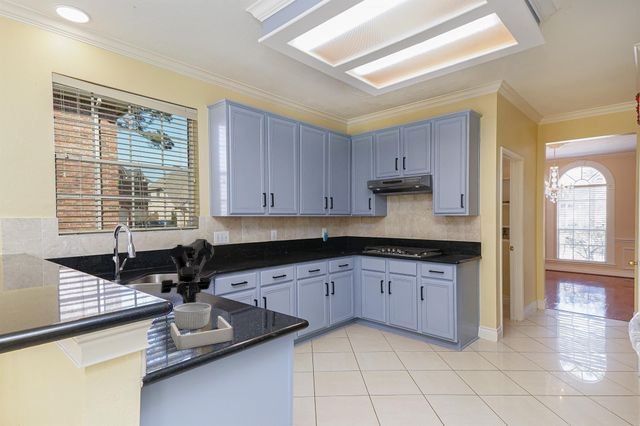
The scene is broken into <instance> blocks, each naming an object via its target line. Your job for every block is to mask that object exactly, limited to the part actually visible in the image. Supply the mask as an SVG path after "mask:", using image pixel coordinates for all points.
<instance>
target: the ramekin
mask: <svg viewBox="0 0 640 426" xmlns="http://www.w3.org/2000/svg"><path fill="white" fill-rule="evenodd" d="M211 310H212V305H211V304H209V303H207V302H196V303H187V304H183V303H181V304H178V305H176V306H174V307H173V314H174V324H175V325H176V327H177V329H178V330H179V329H180V330H199V329H201V328H204V327H206V326H207V325H208V323H209V321H210V315H211Z"/></svg>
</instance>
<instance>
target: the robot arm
mask: <svg viewBox="0 0 640 426" xmlns="http://www.w3.org/2000/svg"><path fill="white" fill-rule="evenodd" d="M214 255H215V247H214V246H213V244H212V243H210V242H208V240H207V239H206V238H197V239H195V241H193V242H192V243H190V244H188V245H184V244H177V245H176V246H175V247H173V248H172V249H171V250H170V251H169V256H170V257H171V259H172V261H173V263H174V264H175V265H176V274H177V282H174V281H173V279H163V280H162V281H161V283H160V294H170V293H171V291H172V289H176V294H178V295H179V296H181V297H182V304H187V303H197V295H198V294H200V293H202V292H201V291H205V290H208V289H210V285H211V283H212V279H211V277H210V276H202V277H199V276H200V274H201V272H202V270H203V268H204V267H205V263H206V262H207V261H209V260H211V259H212V258H213V256H214ZM191 260H194V262H193V263H192V261H191ZM191 263H192V264H191Z"/></svg>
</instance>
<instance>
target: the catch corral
mask: <svg viewBox="0 0 640 426" xmlns="http://www.w3.org/2000/svg"><path fill="white" fill-rule="evenodd" d="M170 337H171V339H172V341H173V343H174V345H175V347H176V349H177V351H182V350H187V349H191V348H198V347H203V346H208V345H215V344H218V343H219V344H221V343H225V342H230V341H233V340H234V328H233V326H231V324H229V322H228V321H227V320H225V319H224V317H222V316H221V315H218V316H217V329H212V330H207V331H200V332H194V333H188V334H181V333H180V331H179V328H178V327H177V326H176V324H175V322H170Z"/></svg>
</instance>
